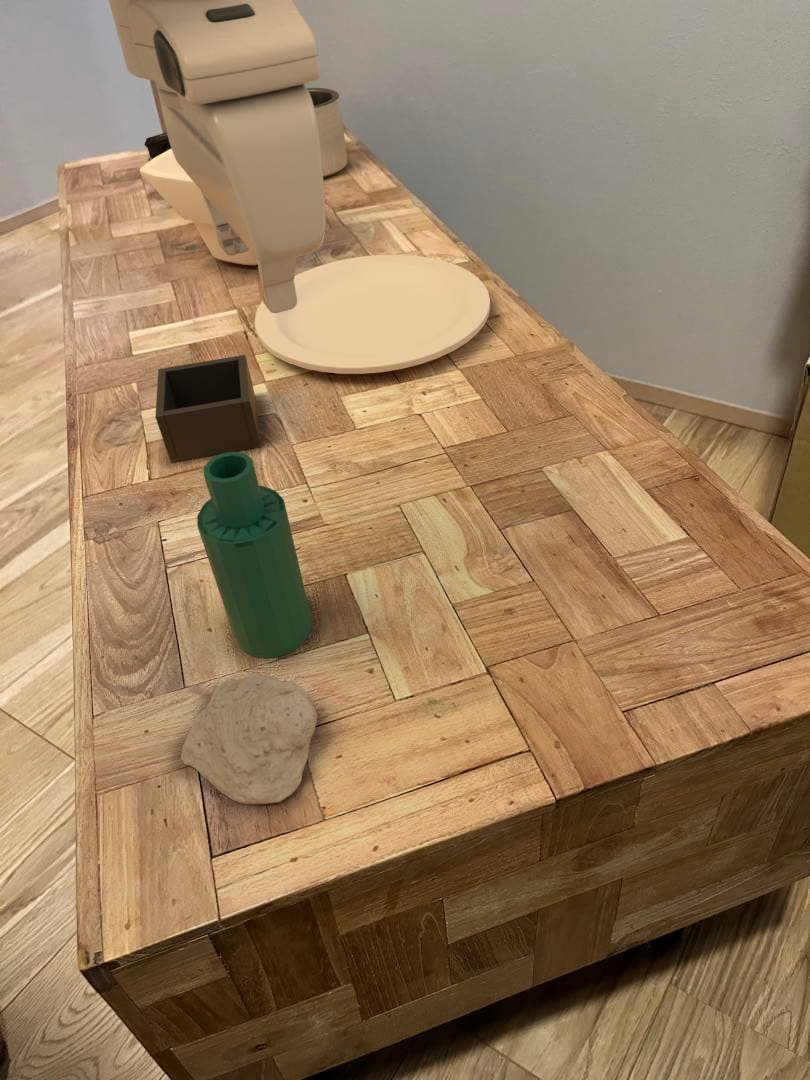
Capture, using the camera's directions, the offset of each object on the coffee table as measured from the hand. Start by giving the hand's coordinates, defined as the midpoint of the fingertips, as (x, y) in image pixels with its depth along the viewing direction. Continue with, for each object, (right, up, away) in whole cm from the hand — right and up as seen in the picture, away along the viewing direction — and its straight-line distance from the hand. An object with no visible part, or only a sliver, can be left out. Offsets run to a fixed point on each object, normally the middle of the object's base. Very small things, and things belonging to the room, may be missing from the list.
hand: (256, 276), depth 52 cm
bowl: (-12, +23, +65) cm, 70 cm away
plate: (+6, +9, +48) cm, 49 cm away
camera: (-28, +47, +92) cm, 107 cm away
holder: (-10, -5, +33) cm, 35 cm away
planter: (-7, +47, +89) cm, 101 cm away
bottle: (-1, -23, +13) cm, 27 cm away
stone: (-1, -31, +5) cm, 31 cm away
